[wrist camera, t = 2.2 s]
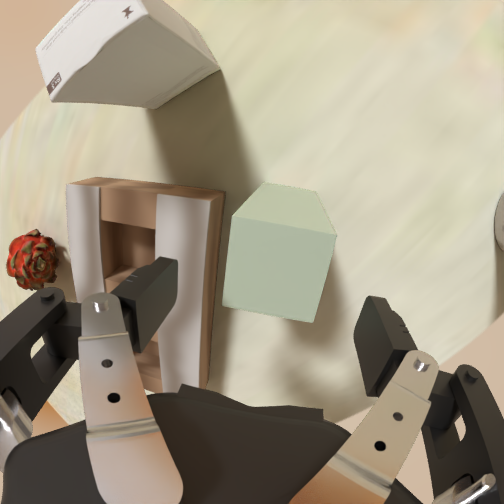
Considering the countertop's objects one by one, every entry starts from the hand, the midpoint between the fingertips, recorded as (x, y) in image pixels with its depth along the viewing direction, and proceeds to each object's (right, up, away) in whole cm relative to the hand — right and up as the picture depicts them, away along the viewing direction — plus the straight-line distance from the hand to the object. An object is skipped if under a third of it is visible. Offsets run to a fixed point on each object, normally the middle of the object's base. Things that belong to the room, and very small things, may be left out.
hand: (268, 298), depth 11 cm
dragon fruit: (-31, +2, +23) cm, 39 cm away
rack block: (-13, -3, +21) cm, 25 cm away
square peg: (+3, +6, +16) cm, 17 cm away
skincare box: (-8, +20, +12) cm, 25 cm away
